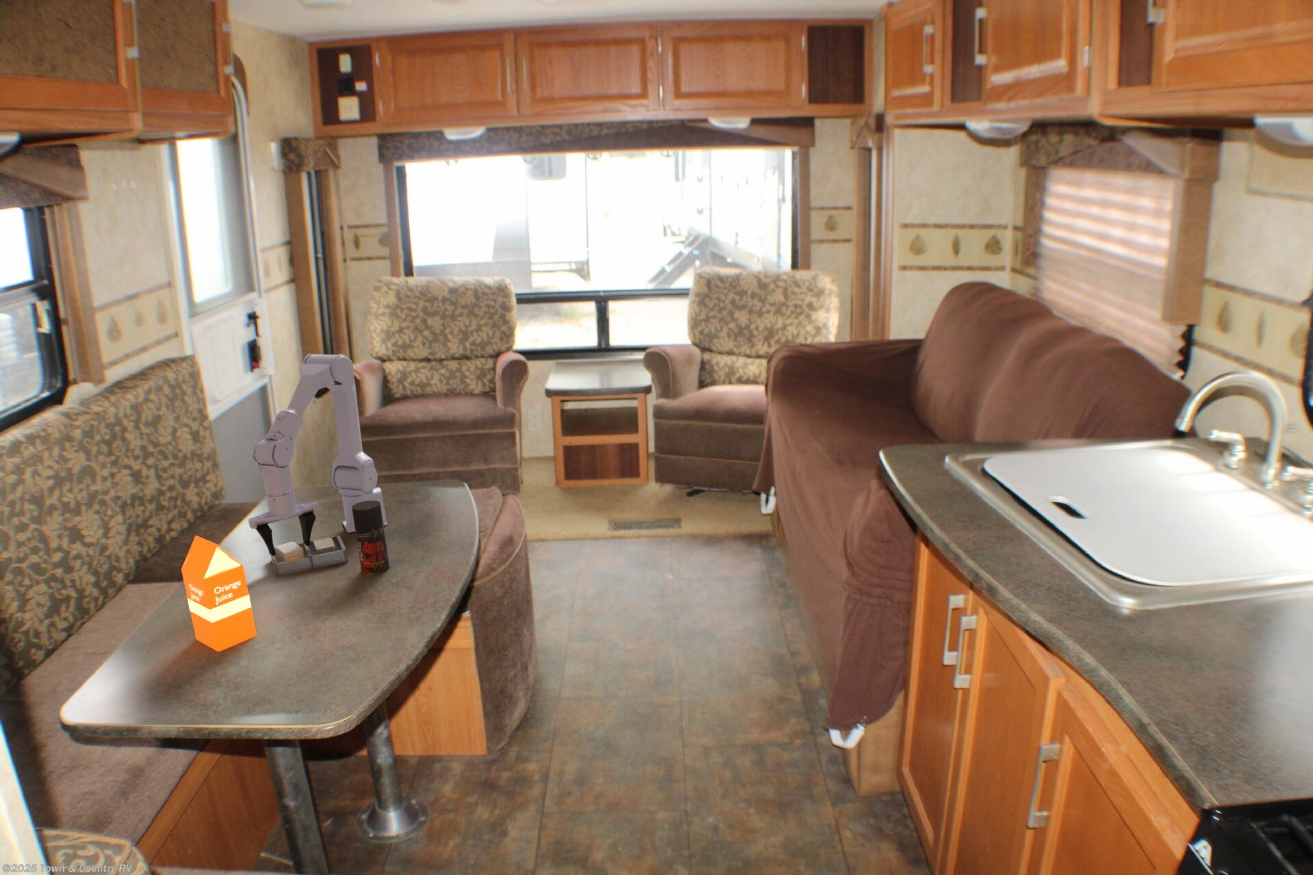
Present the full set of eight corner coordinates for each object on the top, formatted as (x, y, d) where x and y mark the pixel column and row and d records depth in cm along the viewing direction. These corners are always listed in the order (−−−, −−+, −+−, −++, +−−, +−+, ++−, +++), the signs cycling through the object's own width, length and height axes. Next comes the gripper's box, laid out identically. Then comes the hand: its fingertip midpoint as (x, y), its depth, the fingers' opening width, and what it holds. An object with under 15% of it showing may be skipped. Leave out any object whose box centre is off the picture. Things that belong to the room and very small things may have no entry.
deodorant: (355, 572, 206) (345, 508, 202) (375, 562, 211) (365, 499, 207) (376, 576, 204) (366, 511, 200) (395, 565, 209) (386, 502, 205)
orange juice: (234, 623, 186) (215, 528, 180) (257, 635, 180) (238, 537, 175) (195, 639, 180) (174, 542, 174) (217, 652, 174) (196, 552, 169)
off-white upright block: (296, 555, 216) (293, 541, 215) (304, 562, 212) (302, 548, 211) (278, 560, 214) (275, 546, 213) (286, 568, 210) (284, 553, 209)
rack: (340, 545, 222) (338, 532, 221) (348, 561, 213) (345, 547, 212) (271, 560, 216) (269, 546, 215) (275, 577, 206) (273, 562, 205)
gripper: (306, 480, 215) (315, 535, 219) (240, 496, 207) (251, 553, 211) (317, 487, 210) (326, 544, 214) (250, 504, 201) (260, 562, 205)
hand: (290, 549), depth 212 cm, fingers open, 7 cm apart
